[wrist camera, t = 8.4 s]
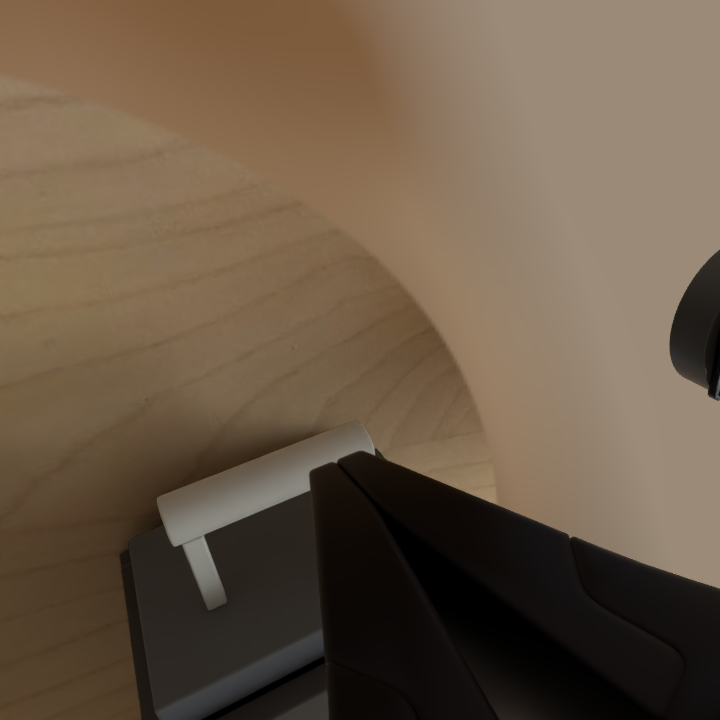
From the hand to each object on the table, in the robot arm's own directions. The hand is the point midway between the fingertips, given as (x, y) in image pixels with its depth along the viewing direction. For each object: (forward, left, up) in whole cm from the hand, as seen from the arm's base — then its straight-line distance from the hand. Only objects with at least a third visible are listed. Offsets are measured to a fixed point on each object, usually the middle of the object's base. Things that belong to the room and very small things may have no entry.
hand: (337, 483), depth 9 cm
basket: (0, +12, -11) cm, 16 cm away
